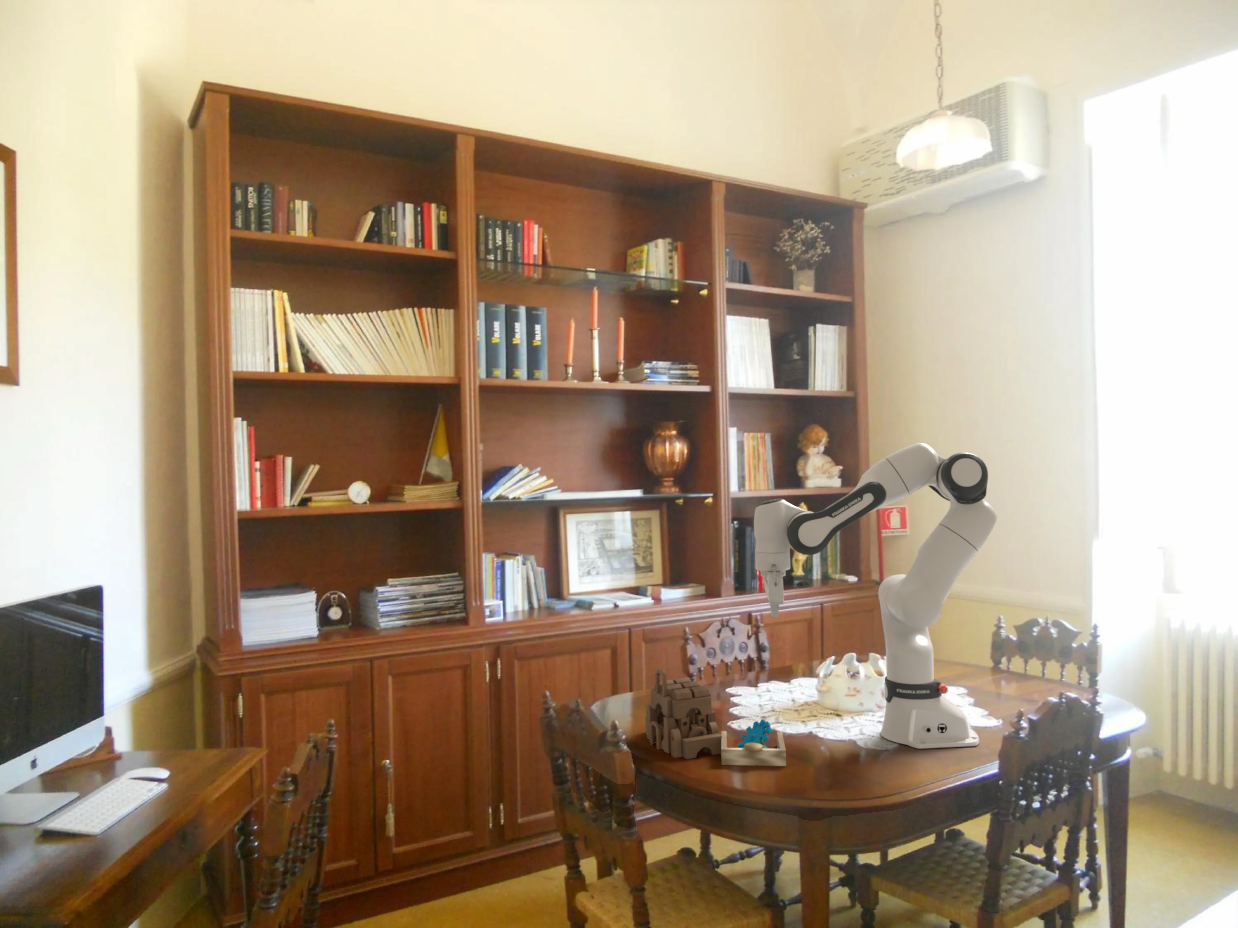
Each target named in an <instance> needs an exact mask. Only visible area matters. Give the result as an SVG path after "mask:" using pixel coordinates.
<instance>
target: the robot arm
mask: <svg viewBox="0 0 1238 928" xmlns="http://www.w3.org/2000/svg"><path fill="white" fill-rule="evenodd" d="M988 480H989V471H988V467H987V465H986V463H985V461H984V460H983V459H982V458H981V457H979V456H978V455H976V454H974V453H970V452H958V453H954V454H952V455H950V456H949V457H947V458H946V457H941V456H940V455H938V453H937V451H936V450H935V449H934V448H932V446H930V445H929V444H927V443H925V442H924V443H923V442H917V443H914V444H910V445H908V446H906V447H903V448H901V449H898V450H897V451H894V452H892V453H890V454H888V455H887V456H885V457H883V458H882V459H880V460H878V462H876V463H874V464H873V465H872V466H870V468H868V469H867V470H866V471H865V472H864V473H863V474H862V475H861V477H860V479H859V481H858V483H857V485H856V486H855V487H854V489H853V490H852V491H850V492H849V493H848V494H847V495H845V496H843V497H841V498H840V499H838V500H836V501H835V502H833V503H832V504H831V505H829V506H827V507H826V508H824V509H822V510H820V511H817V512H814V511H811V510H808V509H807V510H806V509H803V508H800V507H799V506H795V505H793V504H792V503H790V502H788V501H786V500H785V499H784V498H773V499H767V500H765V501H762V502H760V503H759V504H758V505H757V506H756V507H755V509H754V518H753V534H754V539H755V542H756V543H755V549H754V557H755V558H754V562H755V564H754V565H755V570H757V571H759V572H760V577H762V580H763V581H762V582H763V588H764V593H765V596H766V598H767V600H768V601H767V602H768V603H769V606H770V607H769V608H770V616H771V617H772V618H779V616H780V615H779V611H780V610H779V609H780V605H784V602H785V596H784V595H785V592H784V579H783V578H784V577H785V576H787V575H786V574H787V573H786V571H789V570H791V551H790V550H791V548H792V549H793V550H794V551H796V552H797V553H799V554H802V555H804V556H813V555H817V554H819V553H821V552H823V550H825V549H826V547H827V546H828V545H829V544H830V542H831V540H832V539H833V537H834V536H835V535H836V534H837V533H838V532H840V531H842V530H844V529H845V528H846V527H848V526H849V525H851V524H852V523H855V522H856V521H857V520H859V519H861V518H863V517H864V516H866V515H867V514H869V513H871V512H874V511H877V510H880V509H882V508H885V507H887V506H890V505H893V504H895V503H897V502H898V501H901V500H903V499H905V498H907V497H908V496H910V495H912V494H914V493H915V492H916V491H919V490H920V489H922V488H925V487H929V488H930V489H931V490H932V491H933V492H935V493H936V494H938V495H939V496H940V498H942V499H944V500H945V501H946V500H947V501H949V502H950V505H949V509H948V511H947V512H946V514H945V515H944V517H943V518H942V519H941V521H939V523H938V525H936V527H935V528H934V529H933V530H932V532H931V533H930V534H929V535H928V536H927V538H926V540H925V541H924V542H923V543H922V544H921V546H920V547H919V548H918V551H917V553H916V554H917V555H916V558H915V559H914V561H913V564H912V565H911V567H910V569H909V571H908V572H907V574H903V573H902V574H899V573H898V574H894V575H890V576H888V577H886V578H885V579H884V580H883V581H882V582H881V583H880V585H879V588H878V591H877V592H878V593H877V595H878V600H879V605H880V606H879V607H880V615H881V624H882V630H883V636H884V642H885V660H886V661H885V662H886V663H885V664H886V665H885V666H886V667H885V668H886V675H885V677H884V684H883V685H884V690H883V691H884V698H885V709H884V710H885V712H884V717H883V719H884V720H883V723H882V728H881V731H880V735H881V736H882V737H883V738H884V739H886V740H888V741H892V742H895V743H897V744H903V745H907V746H909V747H911V748H915V749H920V750H921V749H937V748H956V747H958V748H959V747H975V746H978V745H979V744H980V738H979V735H978V734H977V732H976V731H975V730H973V729H972V728H970V727H969V723H968V722H969V721H968V718H967V716H966V715H965V713H964V711H962V709H961V708H960V707H959V706H958V705H956V704H955V703H953V702H952V701H951V700H950V699H949V698H947V697H946V696H944V695H946V694H948V692H949V687H948V686H947V685H946V684H945V683H942V682H941V681H939V680H937V678H935V676H934V674H935V673H934V672H935V671H934V646H933V642H932V640H931V635H930V631H929V627H930V626H933V625H934V624H936V623H937V621H939V619H940V617H942V616H941V615H942V613H943V606H944V604H945V602H946V600H947V599H948V596H949V595H950V593H951V590H952V589H953V586H954V584H955V583H956V581H957V580H958V578H959V576H960V575H961V574H962V572H963V571H964V570H965V568H966V567H967V566H968V564H970V562H971V561H972V560H973V558H974V557H975V555H977V554H978V552H979V551H980V549H981V548H982V547H983V546H984V544H985V542H986V541H987V539H988V537H990V534H991V532H992V530H993V529H994V527H995V525H996V523H997V517H998V516H997V513H996V510H995V509H994V508H993V506H992V505H991V504H990V503H989V502H987V501H986V500H985V498H986V496H987V489H988V482H989V481H988ZM943 694H944V695H943Z"/></svg>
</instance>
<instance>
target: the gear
mask: <svg viewBox="0 0 1238 928" xmlns="http://www.w3.org/2000/svg"><path fill="white" fill-rule="evenodd" d="M745 731H747V733H746V735H745V734H744V733H743V734H741V735H740V737H739V738H740V740H742V741H743V742H741V741H738V743H737V745H736V748H744V745H745V744H747V743H759V744H761V745H762V748H769V747H768V746H766V745H765V743H767V742H768V741H769V739H770V737H769V736H768V735H770V734H771V733H772V731H773V730H772V728H771V723H770V722H769V721H768V720H767V721H765V719H763V718H762V719H761V720H760V722H759V721H758V720H757V721H754V722H753V724H752V726H748V727H746V728H745ZM766 734H768V735H766Z"/></svg>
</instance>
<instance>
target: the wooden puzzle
mask: <svg viewBox="0 0 1238 928" xmlns="http://www.w3.org/2000/svg"><path fill="white" fill-rule="evenodd" d="M654 675H655V677H654V678H655V680H654V681H655V682H654V686H653V687H650V704H649V705H646V711H645V712H646V716H645V736H646V735H647V736H646V739H647V738H648V739H649V740H650V741H649V740H648V739H647V740H648V741H649V742H650V743H651V744H655V742H657V743H656V749H657V750H658V749H661V750H662V749H663V750H664V751H663V750H662V751H663V752H665V754H667V753H668V755H669V753H671V757H673V758H674V757H679V758H682V757H683V759H685V760H690V759H696V758H697V756H698V755H697V754H698V753H700V752H701V750H700V749H702V752H704V753H709V754H711V755H718V754H719V755H720V754H721V738H722V735H721V734H720V731H719V727H718V724H717V722H716V711H715V710H713V709H712V694H711V693H710V689H709V688H708V686H707V685H700V683H699V681H696V680H695V681H692V680H691V679H690V677H688V676H687V677H679V678H674V679H667V674H666V672H665V671H664V670H663V669H662V668H657V670H655V674H654ZM650 743H649V744H650ZM651 744H650V745H651Z"/></svg>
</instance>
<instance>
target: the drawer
mask: <svg viewBox="0 0 1238 928" xmlns="http://www.w3.org/2000/svg"><path fill="white" fill-rule="evenodd" d="M720 735H722V738H721V753H720V754H721V755H720V756H721V765H722V766H756V765H757V767H758V766H761V767H762V766H763V767H764V766H765V767H786V766H787V749H786V745H785V741H784V735H783V732H782V731H776V745H777V746H776V747H777V748H769V747H768V748H762V745H761V744H759V743H747V744H745V745H744V748H743V747H742V748H738V747H728V741H727V740H728V739H727V737H728V735H727V730H721V734H720Z"/></svg>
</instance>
